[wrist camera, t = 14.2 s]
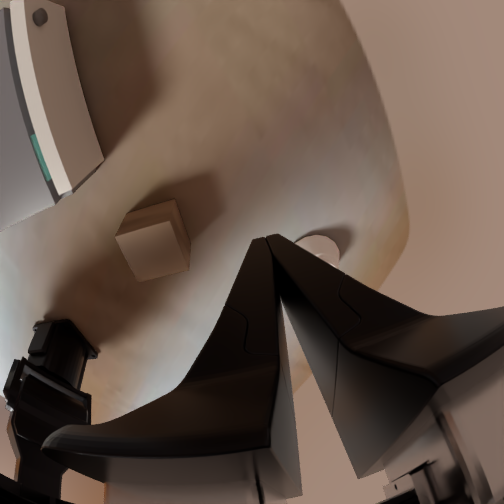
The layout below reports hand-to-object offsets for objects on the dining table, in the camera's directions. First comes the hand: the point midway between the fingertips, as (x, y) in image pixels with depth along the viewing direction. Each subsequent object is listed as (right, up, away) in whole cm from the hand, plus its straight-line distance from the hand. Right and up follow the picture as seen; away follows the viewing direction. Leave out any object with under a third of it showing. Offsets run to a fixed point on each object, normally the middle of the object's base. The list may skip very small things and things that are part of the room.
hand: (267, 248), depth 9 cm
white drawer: (-18, +10, +4) cm, 21 cm away
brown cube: (-8, +2, +12) cm, 14 cm away
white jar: (+5, -1, +16) cm, 17 cm away
